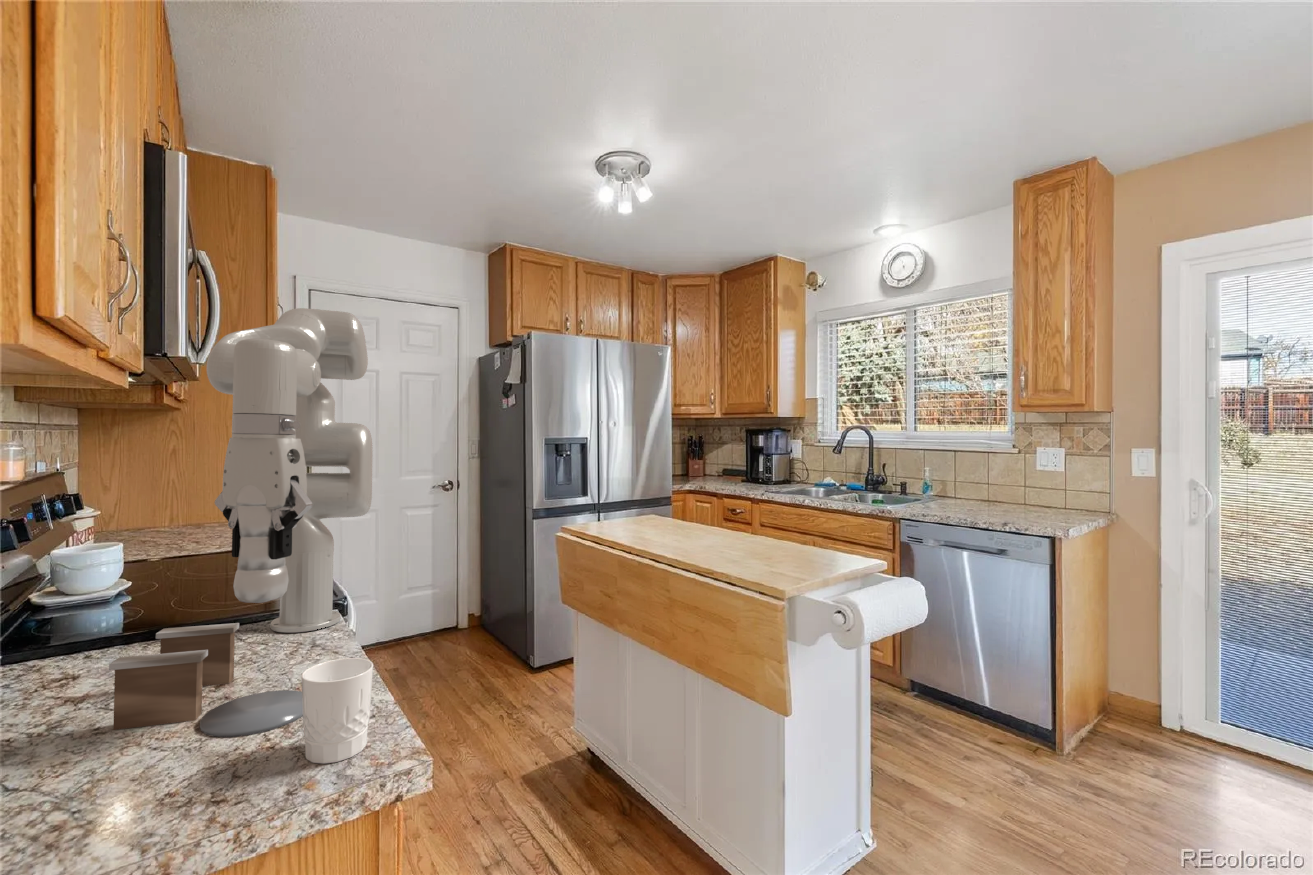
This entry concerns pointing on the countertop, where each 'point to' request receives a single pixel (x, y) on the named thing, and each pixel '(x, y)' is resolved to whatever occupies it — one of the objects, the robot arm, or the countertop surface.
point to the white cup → (336, 708)
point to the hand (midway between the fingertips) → (262, 555)
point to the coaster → (253, 714)
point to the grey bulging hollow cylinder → (257, 551)
